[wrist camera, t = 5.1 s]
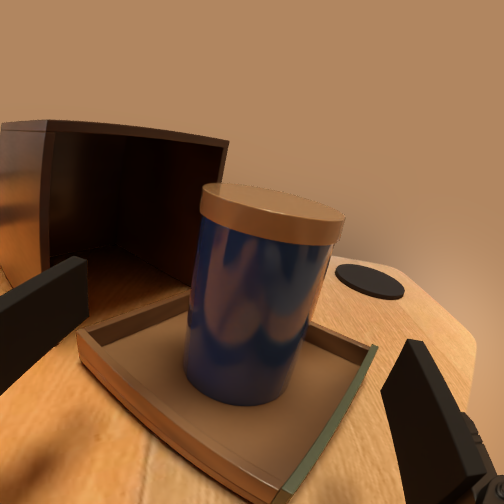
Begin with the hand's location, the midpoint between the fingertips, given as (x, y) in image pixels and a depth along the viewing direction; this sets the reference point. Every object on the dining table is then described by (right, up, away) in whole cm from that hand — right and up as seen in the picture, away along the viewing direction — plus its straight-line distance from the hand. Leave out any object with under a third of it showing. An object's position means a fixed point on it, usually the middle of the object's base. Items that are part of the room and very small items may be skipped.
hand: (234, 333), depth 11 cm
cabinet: (-15, 0, +17) cm, 23 cm away
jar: (0, -5, +8) cm, 10 cm away
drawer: (-1, -5, +9) cm, 11 cm away
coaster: (+18, -1, +33) cm, 37 cm away
